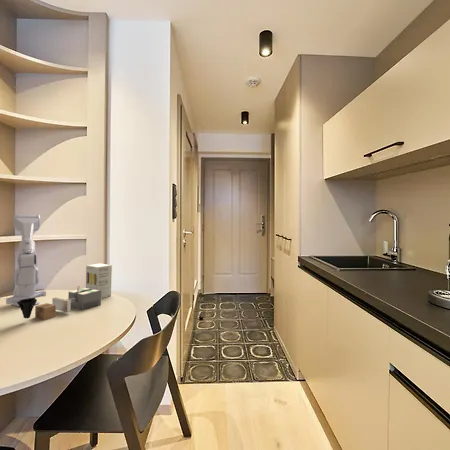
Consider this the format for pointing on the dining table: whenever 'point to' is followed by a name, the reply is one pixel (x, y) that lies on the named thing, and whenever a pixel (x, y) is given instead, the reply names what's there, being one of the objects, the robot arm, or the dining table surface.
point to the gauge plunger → (65, 302)
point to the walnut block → (45, 311)
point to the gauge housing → (85, 298)
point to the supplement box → (99, 278)
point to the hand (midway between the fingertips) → (26, 317)
